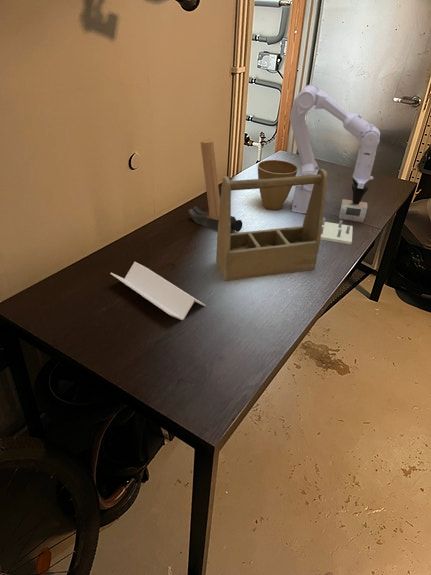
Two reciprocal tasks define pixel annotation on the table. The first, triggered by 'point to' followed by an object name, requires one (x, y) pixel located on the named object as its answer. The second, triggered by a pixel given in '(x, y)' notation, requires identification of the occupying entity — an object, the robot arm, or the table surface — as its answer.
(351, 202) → the block
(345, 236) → the peg board
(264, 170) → the plant pot
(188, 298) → the z bracket
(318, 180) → the caddy
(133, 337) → the table surface
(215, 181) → the hammer
